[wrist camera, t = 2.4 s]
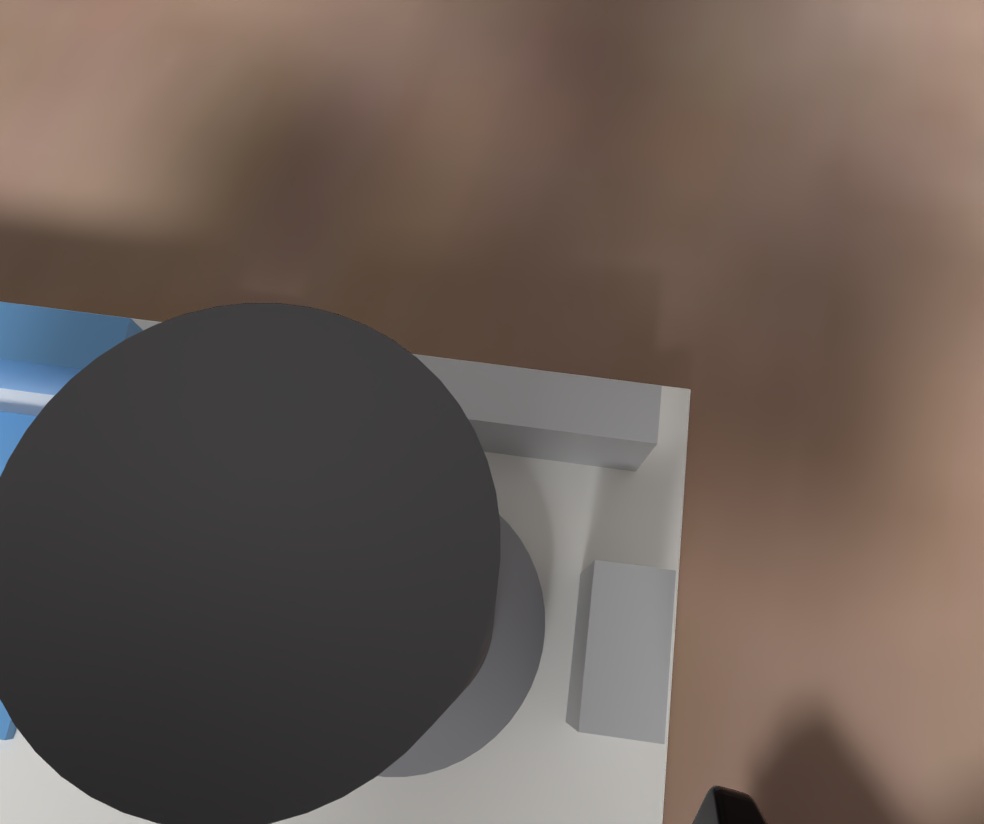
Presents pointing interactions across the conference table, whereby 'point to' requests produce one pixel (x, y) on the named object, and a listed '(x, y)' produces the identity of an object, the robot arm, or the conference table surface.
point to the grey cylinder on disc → (257, 571)
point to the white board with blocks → (557, 559)
